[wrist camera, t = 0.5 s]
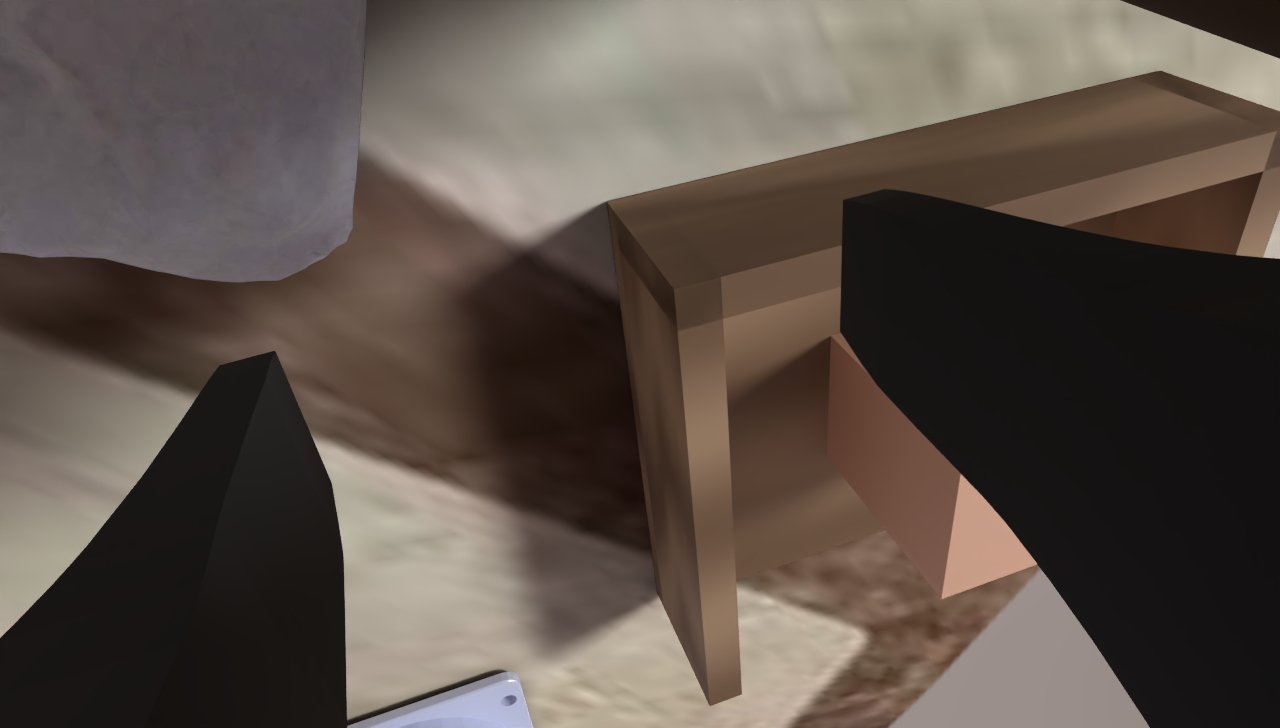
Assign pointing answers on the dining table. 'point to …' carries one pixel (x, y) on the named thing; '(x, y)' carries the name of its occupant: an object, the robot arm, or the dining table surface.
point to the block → (913, 485)
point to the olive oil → (1226, 19)
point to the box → (811, 297)
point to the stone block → (181, 132)
